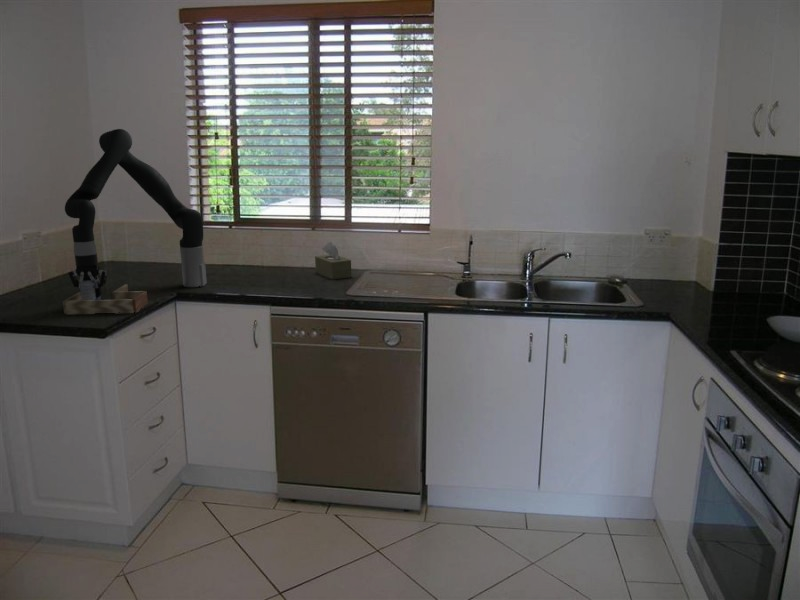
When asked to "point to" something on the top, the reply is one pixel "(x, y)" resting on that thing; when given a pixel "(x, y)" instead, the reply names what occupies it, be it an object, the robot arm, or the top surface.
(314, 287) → the top surface
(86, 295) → the medicine box
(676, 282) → the top surface
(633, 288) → the top surface
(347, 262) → the tissue box
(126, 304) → the channel
